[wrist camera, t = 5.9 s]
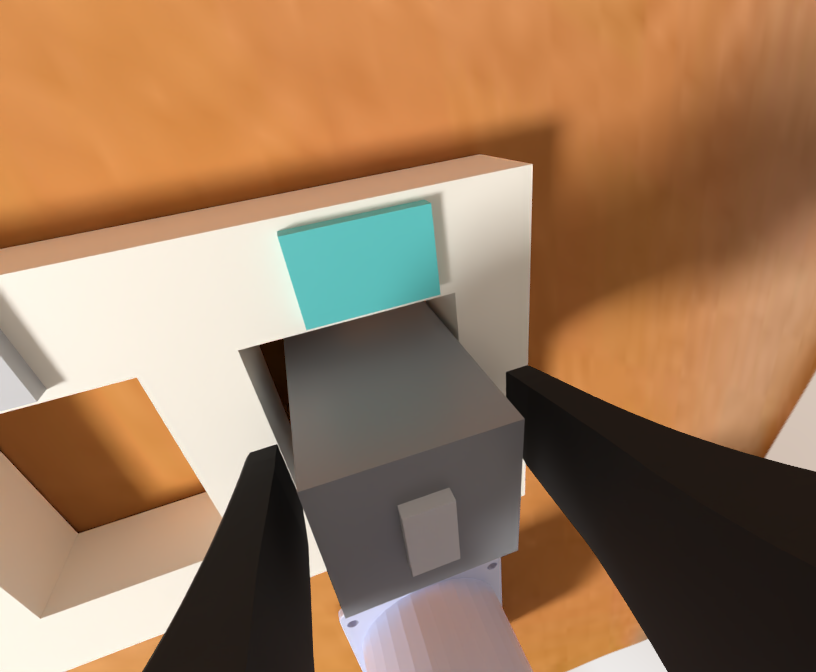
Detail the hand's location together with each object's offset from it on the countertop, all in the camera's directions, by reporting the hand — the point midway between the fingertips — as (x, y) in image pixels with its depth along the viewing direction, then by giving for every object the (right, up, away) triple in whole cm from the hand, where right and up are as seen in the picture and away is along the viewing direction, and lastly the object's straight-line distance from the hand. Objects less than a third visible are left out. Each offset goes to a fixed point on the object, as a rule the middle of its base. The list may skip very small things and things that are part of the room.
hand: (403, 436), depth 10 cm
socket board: (-5, 0, +2) cm, 5 cm away
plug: (-1, +2, +3) cm, 4 cm away
